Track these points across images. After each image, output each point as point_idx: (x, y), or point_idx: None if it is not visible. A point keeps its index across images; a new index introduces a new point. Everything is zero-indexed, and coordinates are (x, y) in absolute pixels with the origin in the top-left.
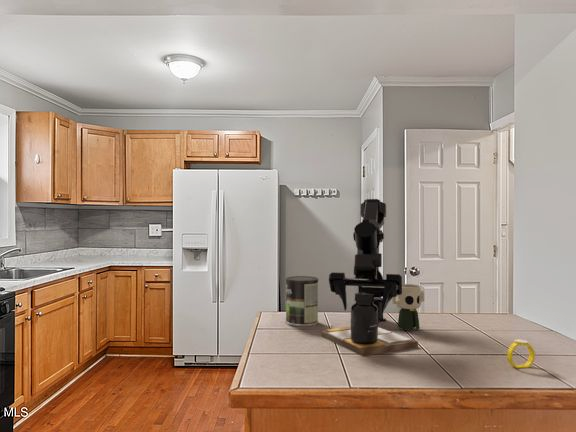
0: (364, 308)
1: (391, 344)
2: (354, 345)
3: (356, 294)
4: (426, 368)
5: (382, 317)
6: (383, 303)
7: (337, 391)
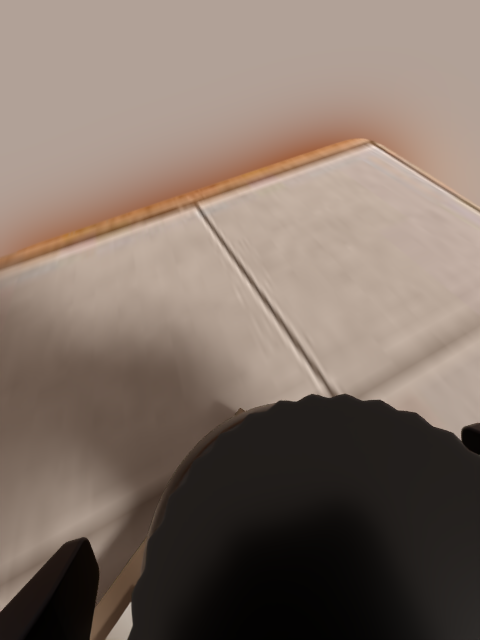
0: (253, 411)
1: (123, 591)
2: None
3: (455, 436)
4: (2, 387)
5: None
6: (7, 628)
7: (212, 184)
